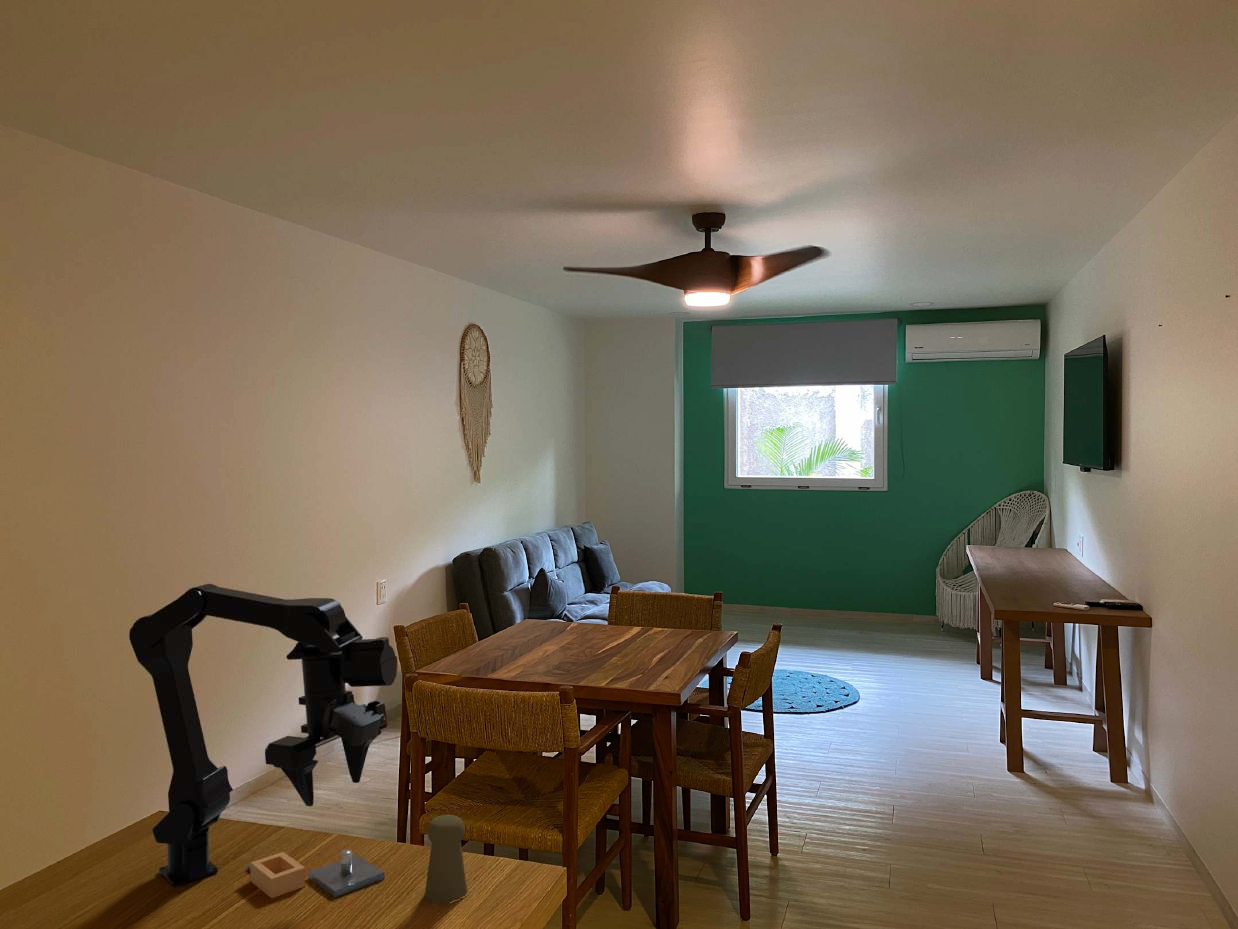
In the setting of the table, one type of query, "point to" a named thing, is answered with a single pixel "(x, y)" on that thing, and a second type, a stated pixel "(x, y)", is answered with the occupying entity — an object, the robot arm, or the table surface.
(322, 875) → the plate
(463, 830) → the olive game pawn
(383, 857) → the table surface
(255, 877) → the link
